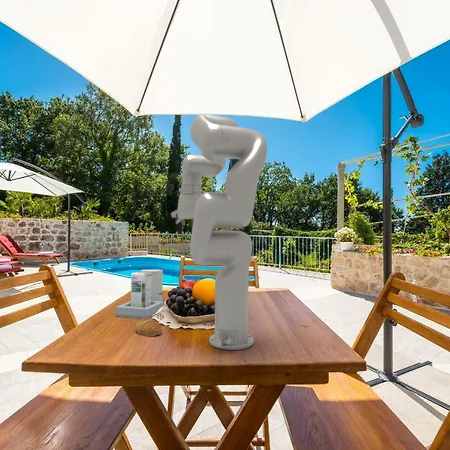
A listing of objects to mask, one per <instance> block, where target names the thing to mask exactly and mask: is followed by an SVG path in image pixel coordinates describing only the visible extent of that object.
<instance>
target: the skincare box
mask: <svg viewBox="0 0 450 450" xmlns="http://www.w3.org/2000/svg"><path fill="white" fill-rule="evenodd" d="M140 272H144V273H151V301H162V302H163V282H164V281H163V280H164V278H163V277H164V275H163V274H164V270H163V269H141V270H140Z"/></svg>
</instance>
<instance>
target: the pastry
mask: <svg viewBox="0 0 450 450" xmlns="http://www.w3.org/2000/svg"><path fill="white" fill-rule="evenodd" d="M134 328H135V331H136V333H138V335H142V336H145V337H154V336H158V335H160V334H161V333H162V332H163V329H162V326H161V325H160V323H158V322H157V320H154V319H151V318H149V319H147V318H143V319H140V320H138V321H137V322H136V324H135V327H134Z"/></svg>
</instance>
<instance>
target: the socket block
mask: <svg viewBox="0 0 450 450" xmlns="http://www.w3.org/2000/svg"><path fill="white" fill-rule="evenodd" d="M164 305H165V301H163V300H162V301H151V305H150V306H148V307H146V308H142V307H131V300H129V301H128V302H124V303H123V304H119V305H116V306H115V315H114V316H119V317H118V318H127V317H128V318H129V319H138V318H139V319H140V320H141V319H143V318H147V319H151V318H152V315H153V314H155V313H156V312H157V311H158V310H159V309H160V308H161V307H163V306H164ZM128 318H127V319H128Z"/></svg>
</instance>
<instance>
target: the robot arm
mask: <svg viewBox="0 0 450 450" xmlns="http://www.w3.org/2000/svg"><path fill="white" fill-rule="evenodd" d="M189 131H190V132H189V133H190V138H191V140H192V142H193V144H194V145H195V146H196V147H197V148H198V150H199V151H200V153H201V154H191V153H190V154H187V155H186V156H185V157H184V158H183V159H182V165H181V167H182V171H181V172H182V173H181V176H182V177H181V185H182V186H181V187H180V188H178V191H179V193H180V194H179V198H178V203H177V205H178V206H177V209H175V210H174V211H172V212H171V213H170V215H171V218H172V220H173V221H174V222H175V224H176V232H177V234H178V235H183V222H184V221H185V220H193V221H192V230H191V238H190V256H191V260H192V262H193V263H194V264H196V265H198V266H215V265H219V266H221V265H222V266H221V268H220V269H219V271H218V272H217V274H216V276H215V280H214V333H213V334H211V335H210V336H209V339H208V342H209V344H210V345H211V346H212V347H215V348H217V349H222V350H230V351H235V350H244V349H248V348H250V347H252V346H253V345H254V343H255V341H254V336H253V335H251V334H250V333H249V285H250V284H249V274H250V264H251V259H252V258H251V257H252V252H253V242H252V239H251V236H249V234H247V232H243V231H241V230H226V229H231V228H245V227H247V226H249V225H250V223H251V221H252V217H253V212H254V208H255V207H254V206H255V202H256V195H257V189H258V182H259V178H260V175H261V173H262V171H263V168H264V166H265V164H266V159H267V156H268V155H267V154H268V143H267V138H266V137H265V135H263V133H261V132H260V131H258V130H255V129H251V128H247V127H240V126H239V125H238V123H237V122H236V121H235V120H233V119H232V118H229V117H226V116H220V115H213V114H209V113H208V114H207V113H200V114H198V115H197V116H195V118H193V120H192V123H191V125H190V129H189ZM227 159H230V160H231V159H232V160H233V159H234V160H238V161H237V162H236V163H235V164H234V165H233V166H232V167H231V168H230V169H229V171H228V173H226V174H227V175H226V179H225V187H224V190H223V191H222V192H220V191H206V192H203V193H202V176H205V177H217V176H218V175H219V174H221V173H222V172H223V171H224V170H225V168H226V164H227ZM217 228H219V229H221V228H222V229H224V228H225V230H215V229H217Z"/></svg>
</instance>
